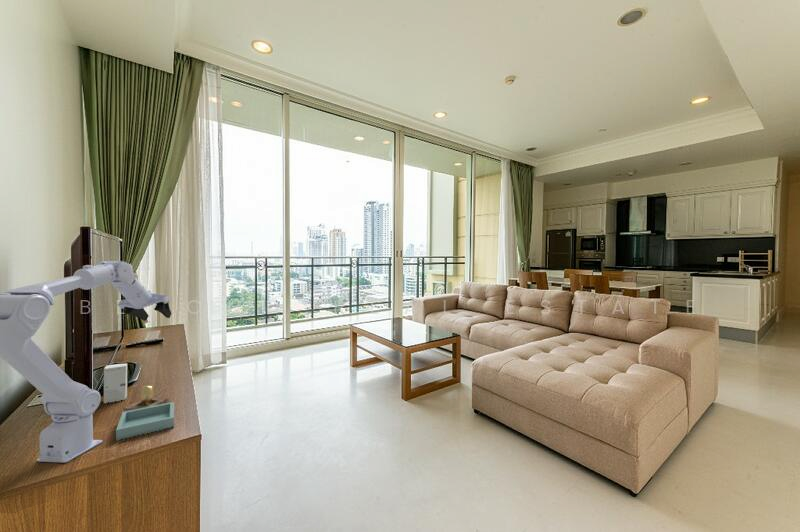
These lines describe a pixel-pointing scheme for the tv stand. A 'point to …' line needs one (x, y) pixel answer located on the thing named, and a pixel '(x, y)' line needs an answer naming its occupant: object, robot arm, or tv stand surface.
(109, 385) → the skincare box
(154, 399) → the collar
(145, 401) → the pin
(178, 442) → the tv stand surface
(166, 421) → the tray
